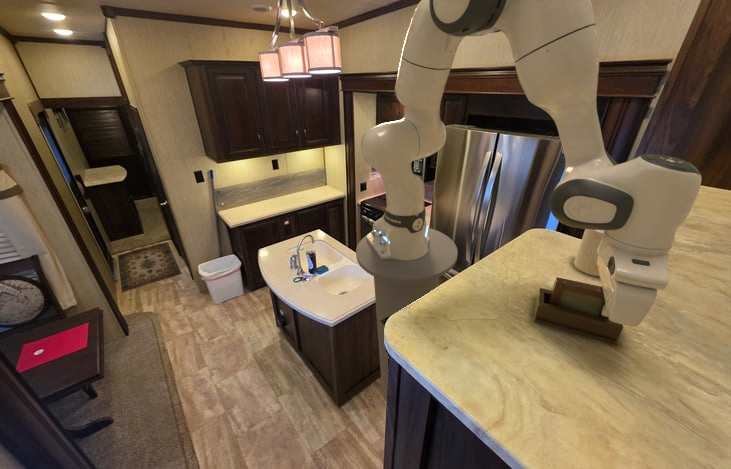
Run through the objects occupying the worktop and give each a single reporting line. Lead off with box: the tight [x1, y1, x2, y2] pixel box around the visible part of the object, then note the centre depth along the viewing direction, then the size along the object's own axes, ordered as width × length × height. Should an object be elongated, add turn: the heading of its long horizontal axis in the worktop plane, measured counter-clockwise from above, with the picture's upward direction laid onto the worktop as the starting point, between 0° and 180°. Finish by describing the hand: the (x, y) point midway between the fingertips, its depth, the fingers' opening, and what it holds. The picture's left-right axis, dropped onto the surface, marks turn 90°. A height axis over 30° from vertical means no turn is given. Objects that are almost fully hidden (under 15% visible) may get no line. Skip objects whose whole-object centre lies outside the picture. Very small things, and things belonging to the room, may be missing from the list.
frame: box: [548, 276, 608, 319], centre depth 59 cm, size 2×10×8 cm, turn 60°
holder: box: [533, 287, 624, 345], centre depth 60 cm, size 8×14×4 cm, turn 61°
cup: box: [573, 229, 604, 277], centre depth 74 cm, size 8×8×12 cm
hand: (604, 308), depth 57 cm, fingers closed on frame, 2 cm apart
